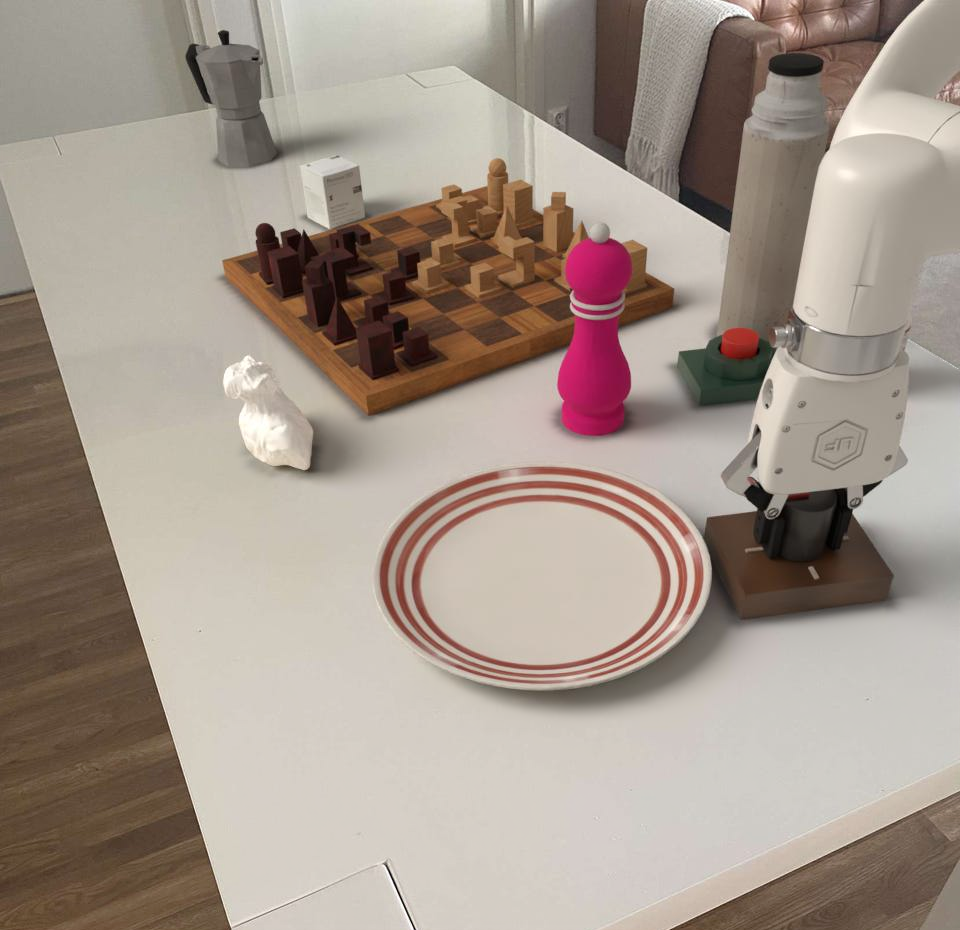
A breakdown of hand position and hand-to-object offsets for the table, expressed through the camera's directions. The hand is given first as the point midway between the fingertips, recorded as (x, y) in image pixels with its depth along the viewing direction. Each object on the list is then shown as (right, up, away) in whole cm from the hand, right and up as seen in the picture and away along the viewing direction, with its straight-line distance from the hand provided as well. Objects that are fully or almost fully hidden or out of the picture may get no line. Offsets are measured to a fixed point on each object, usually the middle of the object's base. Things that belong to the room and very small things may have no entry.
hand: (797, 541), depth 82 cm
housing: (+1, +19, +24) cm, 31 cm away
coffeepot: (-64, +69, +79) cm, 123 cm away
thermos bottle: (+5, +25, +31) cm, 40 cm away
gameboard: (-31, +34, +42) cm, 62 cm away
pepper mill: (-14, +14, +20) cm, 28 cm away
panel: (0, -2, +2) cm, 3 cm away
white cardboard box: (-46, +51, +60) cm, 91 cm away
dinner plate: (-21, -4, +2) cm, 21 cm away
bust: (-46, +10, +19) cm, 50 cm away
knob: (0, 0, 0) cm, 0 cm away
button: (+1, +22, +21) cm, 30 cm away
